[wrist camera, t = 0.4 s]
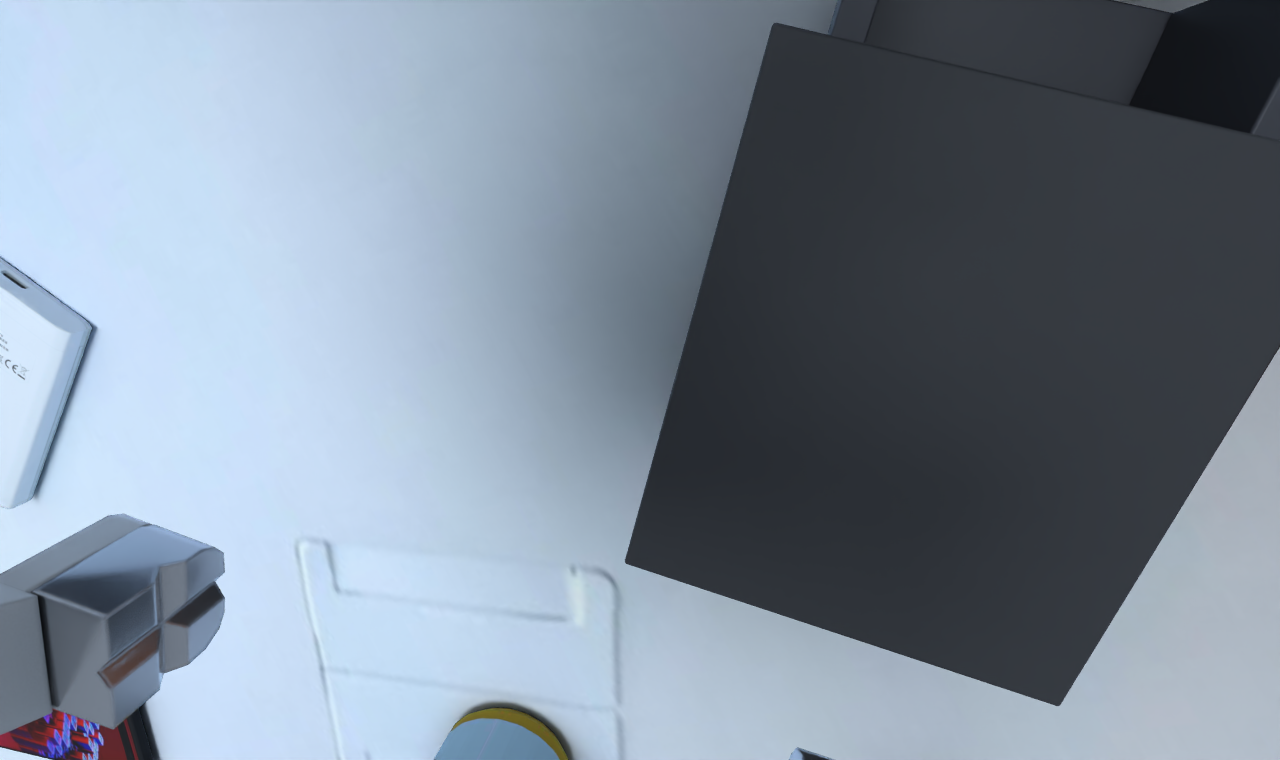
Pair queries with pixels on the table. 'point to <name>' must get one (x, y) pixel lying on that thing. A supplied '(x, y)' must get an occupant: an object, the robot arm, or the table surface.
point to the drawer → (1099, 50)
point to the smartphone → (79, 739)
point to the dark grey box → (958, 356)
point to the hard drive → (32, 378)
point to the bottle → (500, 738)
